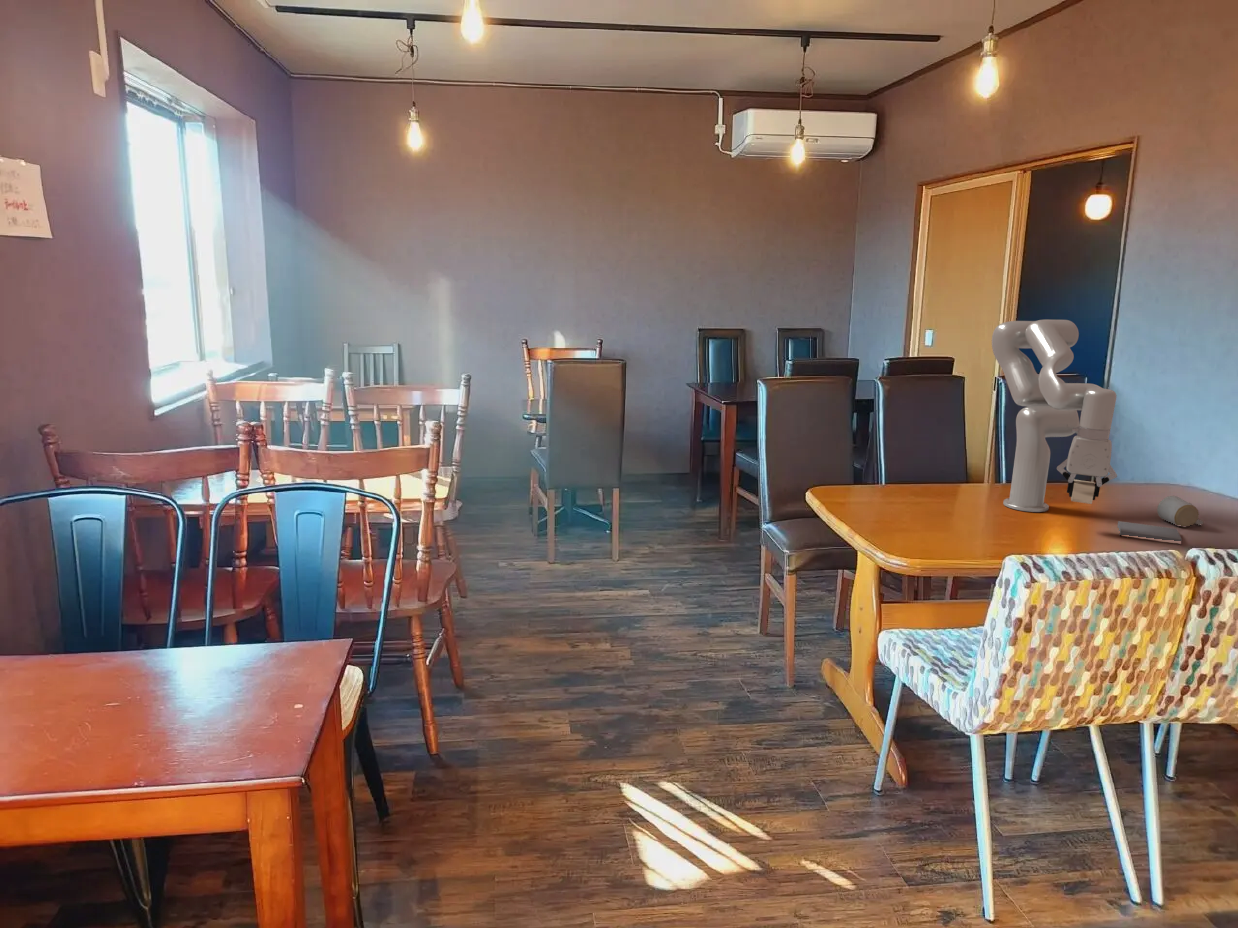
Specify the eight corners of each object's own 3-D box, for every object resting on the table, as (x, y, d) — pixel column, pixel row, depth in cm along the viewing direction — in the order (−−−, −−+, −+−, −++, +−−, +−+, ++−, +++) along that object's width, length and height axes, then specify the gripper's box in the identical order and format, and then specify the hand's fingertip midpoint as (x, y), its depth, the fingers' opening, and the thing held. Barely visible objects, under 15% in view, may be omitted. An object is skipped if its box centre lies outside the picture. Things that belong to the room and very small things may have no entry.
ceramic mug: (1173, 528, 231) (1178, 502, 230) (1154, 520, 239) (1159, 495, 238) (1209, 529, 232) (1215, 503, 230) (1189, 521, 240) (1194, 496, 238)
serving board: (1117, 526, 233) (1118, 521, 232) (1175, 533, 226) (1176, 528, 226) (1120, 536, 223) (1121, 531, 223) (1180, 544, 217) (1181, 539, 217)
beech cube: (1070, 496, 229) (1074, 479, 228) (1091, 499, 227) (1094, 482, 226) (1071, 501, 225) (1074, 483, 224) (1091, 504, 223) (1095, 486, 222)
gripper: (1058, 432, 222) (1047, 495, 226) (1130, 440, 214) (1117, 505, 219) (1058, 427, 228) (1047, 489, 233) (1128, 435, 221) (1116, 498, 225)
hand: (1081, 496), depth 226 cm, fingers closed on beech cube, 5 cm apart
